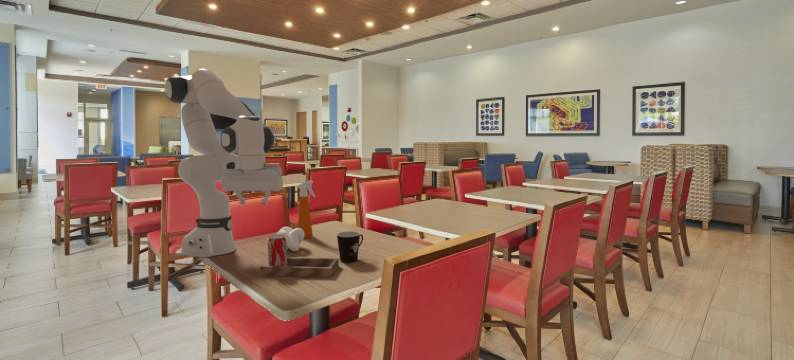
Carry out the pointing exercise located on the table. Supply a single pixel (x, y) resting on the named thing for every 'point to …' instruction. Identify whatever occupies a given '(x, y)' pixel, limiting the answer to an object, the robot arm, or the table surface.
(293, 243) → the white lumpy piece
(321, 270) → the wooden tray
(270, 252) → the beverage can
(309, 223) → the spray bottle
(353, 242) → the coffee mug
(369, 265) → the table surface
